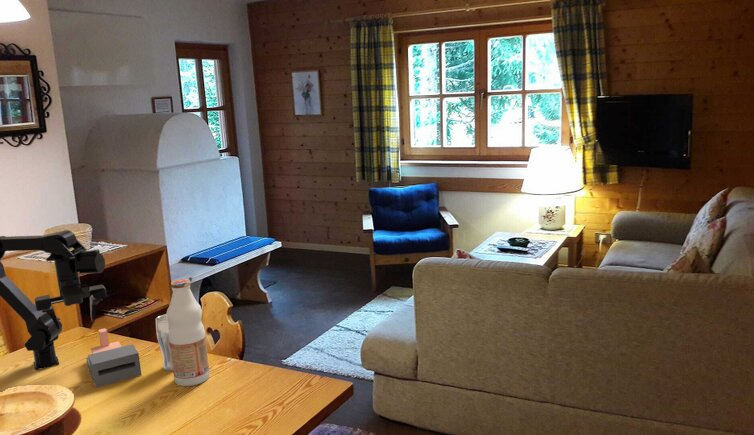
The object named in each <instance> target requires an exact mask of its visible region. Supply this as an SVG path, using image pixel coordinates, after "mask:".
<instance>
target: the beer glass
mask: <svg viewBox="0 0 754 435" xmlns="http://www.w3.org/2000/svg"><path fill="white" fill-rule="evenodd" d="M169 328H170V325H169V322H168V320H167V313H165V314H162V315H159V316H157V317H156V318H155V330H156V337H157V341H158V345H159V348H160V351H161V355H162V360H163V361H162V369H163V371H166V372H167V371H168V372H171V371H172V372H173V366H172V358H171V350H170V343H169Z"/></svg>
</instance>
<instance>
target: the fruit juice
mask: <svg viewBox="0 0 754 435" xmlns="http://www.w3.org/2000/svg"><path fill="white" fill-rule="evenodd" d="M170 287H171V290H172V294H171V298H170V299H171V300H170V303H169V306H168V308H167V310H166V314H167V320H168V322H169V325H170V328H169V343H170V350H171V358H172V366H173V371H172V373H173V380H174V382H175V384H176V385H177V386H180V387H192V386H196V385H200V384H202V383H204V382H206V381H207V380H208V379H209V378H210V364H209V356H208V349H207V348H208V347H207V340H206V333H205V330H206V329H205V326H204V324H203V322H202V316H203V310H202V306H201V305H200V303H198V301H197V300H196V298H195V296H194V294H193V292H192V290H191V281H190V279H188V278H187V279H186V278H185V279H182V278H181V279H177V280H174V281H171V283H170Z"/></svg>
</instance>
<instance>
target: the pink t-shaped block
mask: <svg viewBox="0 0 754 435" xmlns="http://www.w3.org/2000/svg"><path fill="white" fill-rule="evenodd" d="M98 336H99V342H100V345H99V346H94V347H90V351H91V354H94V353H98V352H103V351H107V350H111V349H115V348H119V347H123V346H122V343H120V341H115V342H110V343H109V335H108V330H107V328H101V329H98Z"/></svg>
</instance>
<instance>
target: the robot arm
mask: <svg viewBox="0 0 754 435" xmlns="http://www.w3.org/2000/svg"><path fill="white" fill-rule="evenodd" d="M15 251H16V252H17V251H19V252H20V251H23V252H24V251H40V252H41V251H42V252H44V253H45V254H46V253H47V254H49V256H48V257H47V258H46V259H45V260H46V261H47V262H54V263H53V264H54V269H55V274H56V280H57V287H58V291H59V295H58V296H52V297H51V296H50V294H46V295H40V296H36V297H35V298H34V302H33V301H32V300H31V299H30V298H29V297H28V296H27V295H26V294H25V293H24V292H23V291H22V290H21V289H20V288H19V287H18V286H17V284H15V283H14V282H13V280H12V279H10V278H9V276H8V275H7V274H6V271H5V266H4V264H3V262H2V261H1V260H2V259H3V258H4V257H5V254H6V252H15ZM105 268H106V259H105V258H104V255H103V254H102V253H101V251H100V249H97V248H95V249H91V250H87V248H86V247H85V246H84V244H82V243H81V242H80V240H78V239H77V236H76V234H74V233H73V231H71V230H67V229H66V230H60V231H57V232H56V231H55V232H52V233H47V234H43V235H15V236H6V235H1V236H0V297H1V299H3V300H4V302H6V304H8V306H9V307H11V309H12V310H13V311H14V312H15V313H16V314H18V316H19V317H20V318H21V319H22V320H23V321H24V323H25V326H26V330H27V333H28V334H29V335H30V337H29V338H28V340H26V342H25V343H24V347H25V348H26V351H28V352H29V351H31V352H32V353H33V358H34V359H33V360H34V361H33V367H34V371H37V370H42V369H45V368H50V367H55V366H58V365H60V360H59V358H58V356H57V354H56V349H55V341H57V340H59V335H60V334H61V333H62V329H63V323H62V322H61V321H60V320H61V318H59V317H58V316H57V315H56V313H55V310H54V306H53V305H54V304H55V305H56V304H60V303H64V306H65V307H69V306H73V305H76V304H77V305H79V304H82V303H83V302H84V299H85V298H89V308H90V309H89V311H90V318H91V319H90V320H91V322H92V323H93V322H94V321H95V315H96V310H97V307H98V306H99V303H100V302H102V301H103V299H104V298H108V292H107V288H106V287H105V286H104V285H103V284H98V285H93V286H89V284H87V283H86V284H82V285H81V280H80V274H81V275H84V274H85V275H86V274H87V275H88V274H102V273H103V272H104V270H105Z"/></svg>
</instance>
